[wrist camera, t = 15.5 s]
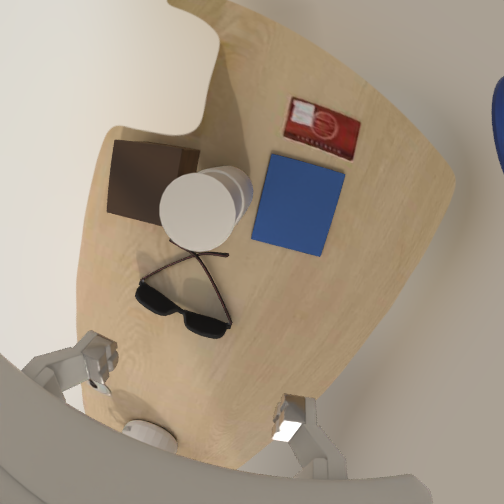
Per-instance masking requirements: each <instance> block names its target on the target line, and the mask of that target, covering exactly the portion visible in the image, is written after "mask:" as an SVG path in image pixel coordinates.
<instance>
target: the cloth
mask: <svg viewBox="0 0 504 504" xmlns="http://www.w3.org/2000/svg"><path fill="white" fill-rule="evenodd" d="M344 177H345V174H343V173H339V172H336V171H333V170H330V169H327V168H323V167H320V166H316V165H313V164H309V163H306V162H302V161H298V160H295V159H291V158H287V157H283V156H279V155H275V154H272V155H271V159H270V163H269V167H268V171H267V175H266V180H265V184H264V188H263V192H262V196H261V200H260V204H259V208H258V213H257V217H256V221H255V225H254V229H253V233H252V238H251V239H253V240H257V241H261V242H265V243H269V244H273V245H276V246H280V247H284V248H288V249H292V250H296V251H300V252H304V253H307V254H311V255H315V256H319V257H320V256H321V253H322V250H323V247H324V244H325V241H326V238H327V234H328V231H329V228H330V225H331V222H332V219H333V215H334V212H335V209H336V205H337V202H338V199H339V195H340V192H341V188H342V185H343V181H344Z"/></svg>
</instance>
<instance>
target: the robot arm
mask: <svg viewBox="0 0 504 504" xmlns="http://www.w3.org/2000/svg"><path fill="white" fill-rule="evenodd" d="M116 349H117V342H115V341H113V340H111V339H109V338H107V337H105V336H103V335H100V334H98V333H96V332H94V331H92V330H90V331H88V332H87V333H86V334H85V335H84V336H83V337H82V339H81V340H80V341H79V342H78V343H77V344H76V345H75V346H74V347H73V348H71V347H69V348H65V349H62V350H58V351H55V352H51V353H48V354H44V355H40V356H37V357H34V358H33V359H32V360H31V361H30V362H29V363H28V364H27V365H26V366H25V367H24V368H23V369H22V370H21V371H20V370H19V369H18V368H17V367H15V366H14V365H13V364H12V363H11V362H9V361H8V360H7V359H6V358H5V357H4V356H3V355H1V354H0V504H433V501H432V496H431V492H430V490H429V489H428V488H427V487H426V486H425V485H424V484H423V483H422V482H421V481H420V480H419V479H418V478H416V477H415V476H414V475H412V474H404V475H397V476H390V477H380V478H368V479H351V480H350V479H349V480H348V478H347V467H346V458H345V457H344V456H343V454H342V453H341V452H340V451H339V449H338V448H337V447H336V446H335V444H334V443H333V442H332V441H331V439H330V438H329V437H328V435H327V434H326V433H325V432H324V430H323V429H322V428H321V426H318V425H317V414H316V400H315V398H309V397H304V396H297V395H291V394H285V393H284V394H283V395H282V396H281V401H280V402H279V403H278V404H277V406H276V408H275V411H274V415H273V421H274V423H275V424H274V426H273V427H272V437H271V439H274V440H280V441H285V442H288V443H289V445H290V447H291V448H292V450H293V452H294V454H295V456H296V458H297V459H298V461H299V463H300V465H301V467H302V468H303V469H302V470H301V471H300V472H299V473H298V474H297V475H295V476H294V477H293V478H288V477H277V476H269V475H263V474H256V473H249V472H244V471H239V470H234V469H229V468H225V467H220V466H216V465H212V464H208V463H204V462H201V461H197V460H194V459H190V458H187V457H184V456H180V455H177V454H174V453H171V452H168V451H166V450H163V449H160V448H157V447H155V446H152V445H149V444H147V443H144V442H142V441H139V440H137V439H135V438H132V437H130V436H128V435H126V434H123V433H121V432H119V431H117V430H115V429H113V428H111V427H109V426H107V425H105V424H103V423H101V422H99V421H97V420H95V419H93V418H91V417H89V416H88V415H86V414H84V413H82V412H81V411H78V410H77V409H75V408H74V407H72V406H70V405H69V404H67V403H66V400H65V398H64V395H63V393H62V392H63V391H65V390H67V389H69V388H72V387H74V386H76V385H78V384H80V383H82V382H84V381H87V380H89V378H90V379H92V380H94V381H96V382H98V383H100V384H102V385H104V383H105V382H106V380H107V379H108V378H109V372H111V371H113V370H114V369H115V367H116V366H117V363H118V358H119V357H118V353H117V351H116Z"/></svg>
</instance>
